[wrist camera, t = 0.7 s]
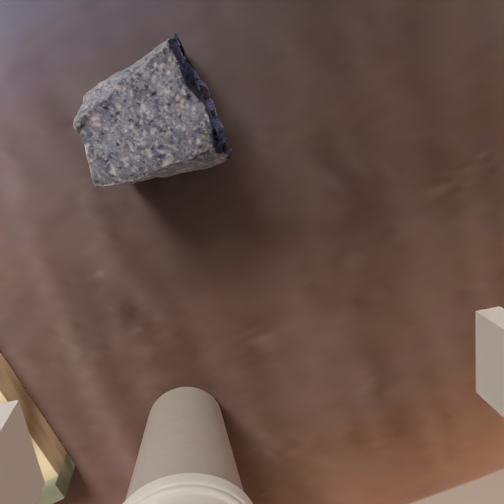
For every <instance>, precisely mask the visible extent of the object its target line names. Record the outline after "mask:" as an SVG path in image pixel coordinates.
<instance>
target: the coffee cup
mask: <svg viewBox="0 0 504 504" xmlns="http://www.w3.org/2000/svg"><path fill="white" fill-rule="evenodd" d="M123 504H253V503H252V501H251V500H250V499H249V497H248V496H247V495H246V494H245V493H244V491H243V488H242V484H241V481H240V477H239V474H238V470H237V467H236V463H235V460H234V456H233V452H232V449H231V445H230V442H229V438H228V435H227V431H226V427H225V424H224V420H223V417H222V413H221V410H220V407H219V405H218V403H217V401H216V400H215V399H214V397H213V396H211V395H210V394H209V393H207V392H206V391H204V390H201V389H199V388H195V387H179V388H175V389H172V390H170V391H168V392H166V393H164V394H163V395H162V396H160V397H159V398H158V399H157V400H156V401H155V403H154V404H153V406H152V408H151V410H150V413H149V417H148V420H147V424H146V428H145V431H144V435H143V439H142V442H141V446H140V450H139V453H138V457H137V461H136V464H135V468H134V471H133V475H132V479H131V482H130V486H129V489H128V493H127V496H126V500H125V502H124V503H123Z"/></svg>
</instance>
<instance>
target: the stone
mask: <svg viewBox="0 0 504 504" xmlns="http://www.w3.org/2000/svg"><path fill="white" fill-rule="evenodd" d="M201 85H202V86H204V87H206V88H207V89H208V93H209V96H210V98H209V99H208V100H206V97H205V95H204V92H203V90H202V88H201ZM211 110H214V111H215V113H216V115H215V117H214V116H213V114H212V111H211ZM73 127H74V129H75V130H76V131H77V132H78V134H79V135H80V137H81V139H82V141H83V143H84V146H85V151H86V157H87V160H88V162H89V167H90V172H91V178H92V180H93V183H94V185H95V187H102V186H109V185H116V184H119V185H124V184H126V185H131V184H134V183H137V182H140V181H144V180H150V179H152V178H155V177H169V176H173V175H175V174H180V173H185V172H191V171H196V170H203V169H207V168H210V167H213V166H216V165H218V164H222V163H224V162H226V161H227V160H229V159H230V157H231V156H230V153H231V152H232V150H233V149H232V148H231V149H230V150H228V151H227V150H226V145H225V143H224V142H225V141H227V139H226V135H225V132H224V127H223V125H222V123H221V121H220V119H219V116H218V113H217V111H216V106H215V104H214V101H213V99H212V98H211V95H210V91H209V88H208V86H207V85H206V84H205V83H204V82H203V81H202V80H201V79H200V77H199V75H198V73H197V71H196V70H195V69H194V68H193V67H192V66H191V65H190V63H189V59H188V58H187V56H186V53H185V51H184V48H183V46H182V44H181V42H180V40H179V38H178V36H177V34H176V33H175V37H172V38H169V39H167V40H165V41H164V42H163V43H162V44H160V45H158V46H157V47H155V48H154V49H153V51H151V52H150V53H148V54H147V55H145V56H144V57H143V58H142V59H141V60H138V61H137V62H136V63H135V64H134V65H131V66H129V67H127V68H126V69H125V70H122V71H118V72H116V73H114V74H113V75H111V76H110V77H109V78H107V79H106V80H104V81H101V82H99V83H98V84H97V86H96V87H93V88H92V89H91V90H90V91H88V92H87V93H86V94H85V95H84V96H83V105H81V107H80V109H79V111H78V113H77V116H76V117H75V118H74V124H73Z"/></svg>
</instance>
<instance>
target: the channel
mask: <svg viewBox="0 0 504 504" xmlns="http://www.w3.org/2000/svg"><path fill="white" fill-rule="evenodd" d="M15 400H19V403H20V406H21V409H22V412H23V415H24V418H25V421H26V425H27V428H28V431H29V434H30V437H31V440H32V443H33V447H34V450H35V453H36V456H37V459H38V462H39V465H40V469H41V472H42V475H43V478H44V481H45V485H44V488H43V490H42V493H41V496H40V498H39V501H38V504H53V503H55V502H57V501H59V500H62V499H64V498H65V495H66V492H67V489H68V486H69V483H70V480H71V477H72V474H73V471H74V468H75V463H74V462H73V460H72V459H71V457H70V456H69V454H68V453H67V451H66V450H65V448H64V447H63V445H62V444H61V442H60V441H59V439H58V438H57V436H56V435H55V433H54V432H53V430H52V429H51V427H50V426H49V424H48V423H47V421H46V420H45V418H44V417H43V415H42V414H41V412H40V411H39V409H38V408H37V406H36V405H35V403H34V402H33V400H32V399H31V397H30V396H29V394H28V393H27V391H26V390H25V388H24V387H23V385H22V384H21V382H20V381H19V379H18V378H17V376H16V375H15V373H14V372H13V370H12V369H11V367H10V366H9V364H8V363H7V361H6V360H5V358H4V357H3V355H2V354H1V352H0V403H5V402H10V401H15Z"/></svg>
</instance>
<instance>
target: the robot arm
mask: <svg viewBox="0 0 504 504" xmlns="http://www.w3.org/2000/svg"><path fill="white" fill-rule="evenodd" d="M476 393H478V394H479V395H480V396H481V397H482V398H483V399H484V400H485V401H486V402H487V403H488V404H489V405H491V406H492V407H493V408H494V409H495V410H496V411H497V412H498V413H499V414H500V415H501V416H502V417H504V309H503V308H502V307H500V306H499V307H494V308H489V309H484V310H479V311H476ZM44 485H45V481H44V478H43V475H42V472H41V469H40V465H39V462H38V459H37V456H36V453H35V450H34V447H33V443H32V440H31V437H30V434H29V431H28V428H27V425H26V421H25V418H24V415H23V412H22V409H21V406H20V403H19V400H15V401H10V402H5V403H0V504H38V501H39V498H40V496H41V493H42V490H43V488H44Z"/></svg>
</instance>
